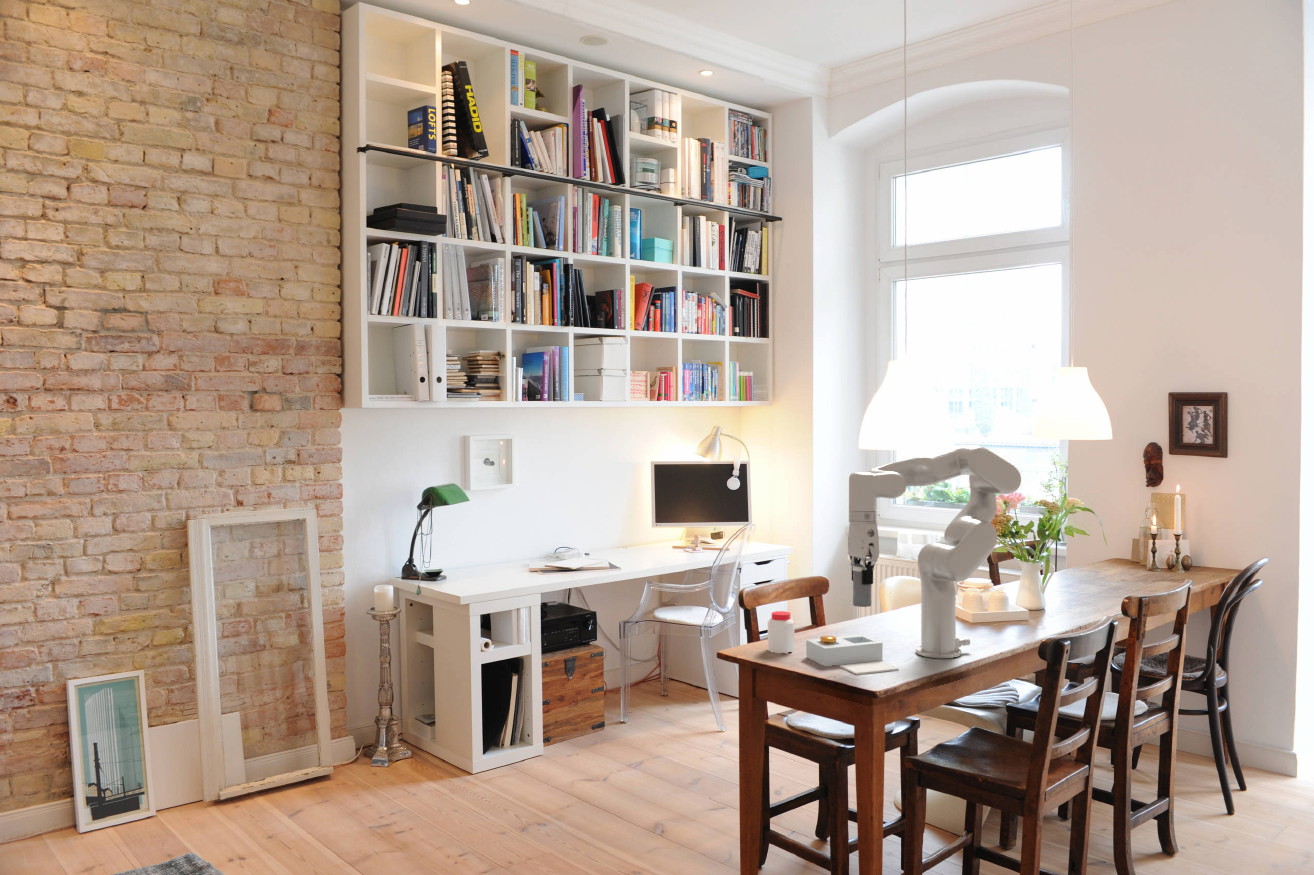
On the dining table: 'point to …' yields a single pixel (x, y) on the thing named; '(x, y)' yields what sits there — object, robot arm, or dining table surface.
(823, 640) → the plunger
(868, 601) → the cylinder
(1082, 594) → the dining table surface
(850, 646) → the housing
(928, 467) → the robot arm
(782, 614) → the pill bottle
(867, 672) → the mat
